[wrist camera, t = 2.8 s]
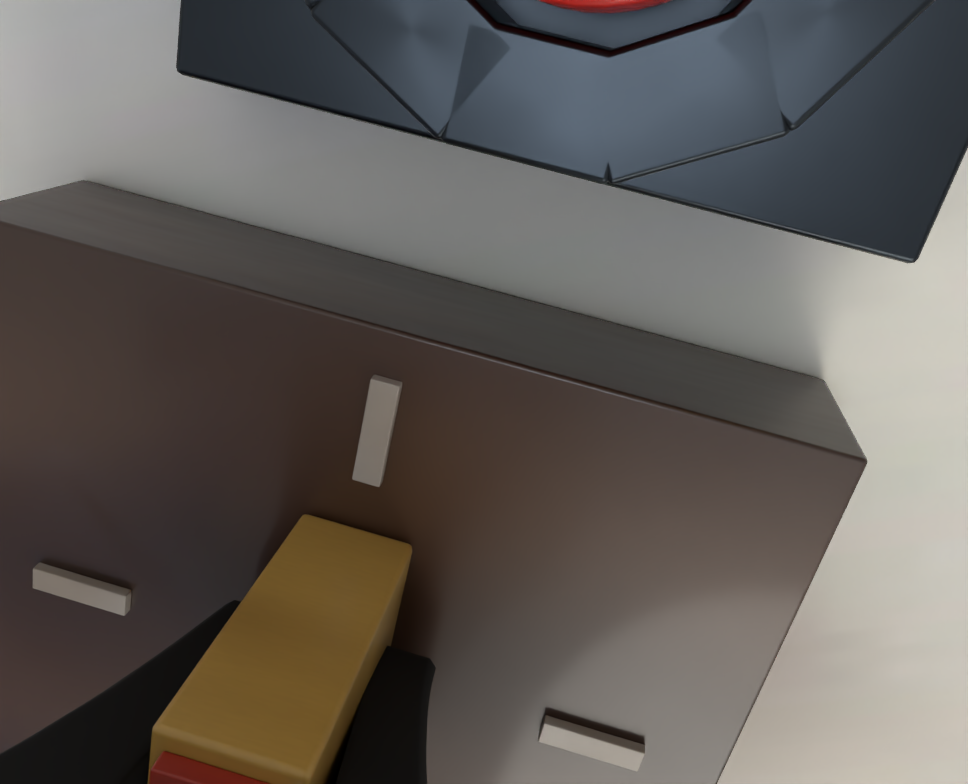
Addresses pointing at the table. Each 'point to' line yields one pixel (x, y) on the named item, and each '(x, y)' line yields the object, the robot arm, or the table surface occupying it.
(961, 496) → the table surface
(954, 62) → the box
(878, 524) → the table surface
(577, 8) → the bell button
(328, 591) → the thumb turn
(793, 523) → the plate
